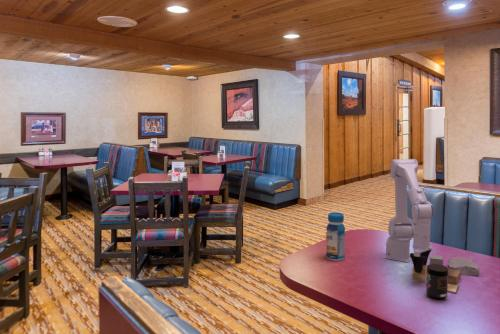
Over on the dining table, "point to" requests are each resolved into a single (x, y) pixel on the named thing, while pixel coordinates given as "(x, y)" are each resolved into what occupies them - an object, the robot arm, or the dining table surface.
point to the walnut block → (454, 276)
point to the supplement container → (437, 281)
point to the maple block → (420, 274)
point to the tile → (453, 288)
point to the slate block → (436, 259)
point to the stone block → (464, 266)
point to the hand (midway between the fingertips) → (420, 269)
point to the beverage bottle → (335, 237)
